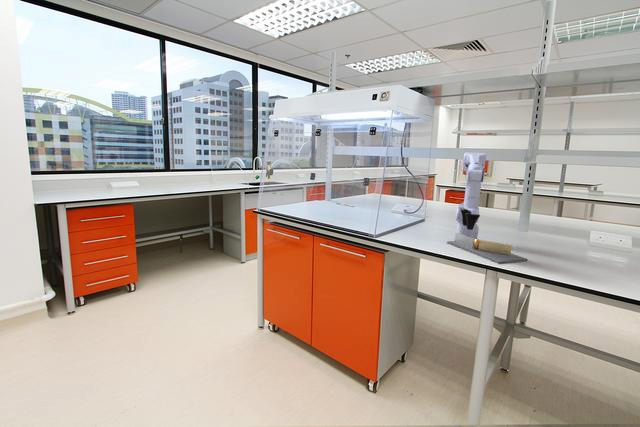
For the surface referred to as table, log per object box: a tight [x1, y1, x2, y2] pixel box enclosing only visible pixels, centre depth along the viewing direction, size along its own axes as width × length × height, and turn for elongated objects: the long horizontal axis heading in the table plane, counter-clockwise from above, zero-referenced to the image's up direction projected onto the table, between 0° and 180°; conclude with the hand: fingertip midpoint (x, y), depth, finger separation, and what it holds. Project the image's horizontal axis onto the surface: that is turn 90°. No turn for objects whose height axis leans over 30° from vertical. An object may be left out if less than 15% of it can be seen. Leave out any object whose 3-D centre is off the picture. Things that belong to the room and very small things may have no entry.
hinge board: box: [446, 240, 529, 264], centre depth 139 cm, size 16×28×1 cm, turn 20°
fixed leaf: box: [454, 232, 475, 249], centre depth 144 cm, size 1×11×4 cm, turn 21°
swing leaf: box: [474, 238, 513, 255], centre depth 135 cm, size 2×14×4 cm, turn 60°
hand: (467, 227), depth 140 cm, fingers open, 7 cm apart
